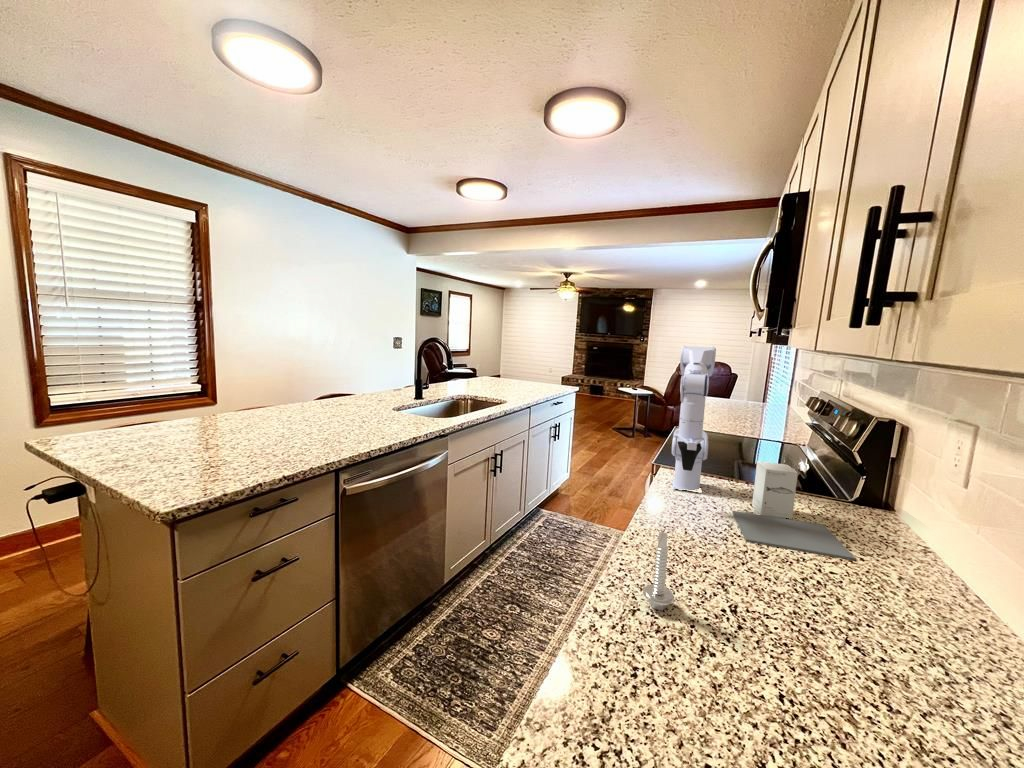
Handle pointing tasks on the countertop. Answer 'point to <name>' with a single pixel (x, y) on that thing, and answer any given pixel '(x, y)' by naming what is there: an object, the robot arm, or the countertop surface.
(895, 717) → the countertop surface
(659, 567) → the screw
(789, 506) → the supplement box
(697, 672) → the countertop surface
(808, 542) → the mat
